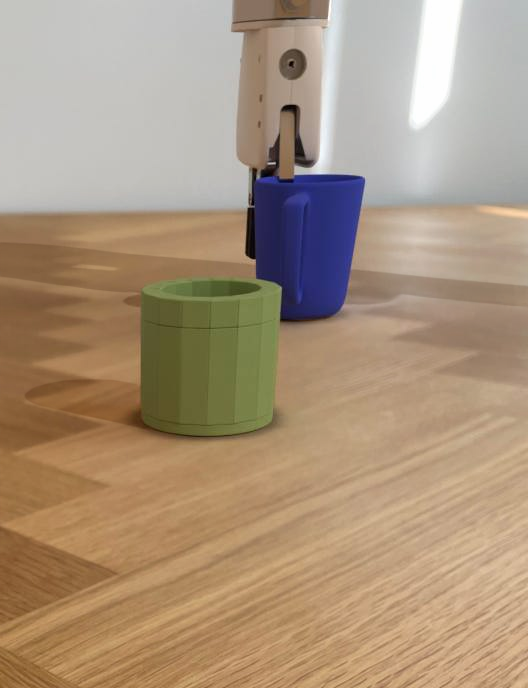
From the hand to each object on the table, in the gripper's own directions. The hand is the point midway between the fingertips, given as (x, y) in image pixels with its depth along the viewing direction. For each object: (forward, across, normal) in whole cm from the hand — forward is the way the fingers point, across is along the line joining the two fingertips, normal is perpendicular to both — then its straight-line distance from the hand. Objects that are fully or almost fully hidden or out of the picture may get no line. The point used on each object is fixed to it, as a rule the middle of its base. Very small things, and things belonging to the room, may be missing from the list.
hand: (265, 257), depth 90 cm
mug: (+3, -10, 0) cm, 11 cm away
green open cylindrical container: (+3, -36, +12) cm, 38 cm away
